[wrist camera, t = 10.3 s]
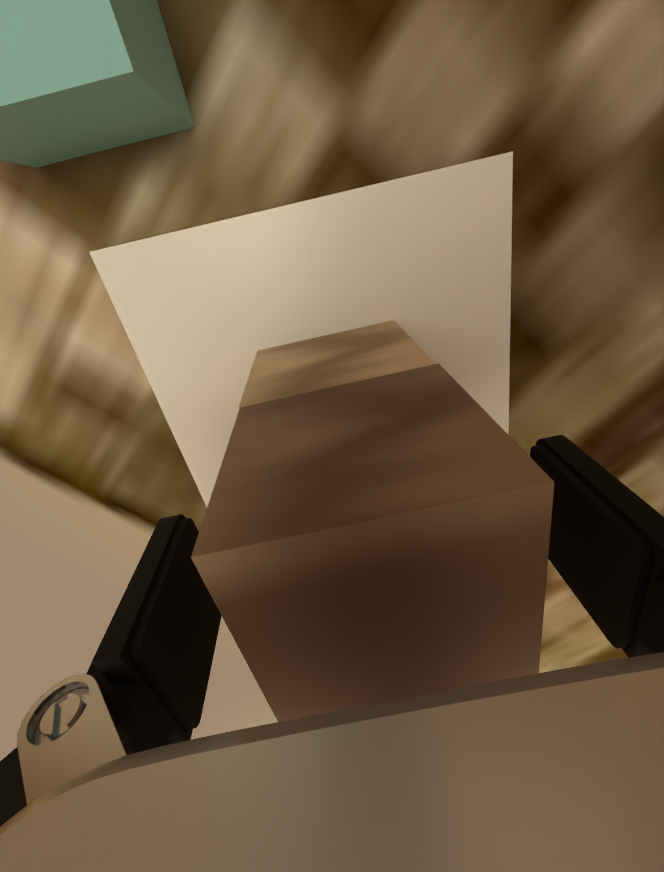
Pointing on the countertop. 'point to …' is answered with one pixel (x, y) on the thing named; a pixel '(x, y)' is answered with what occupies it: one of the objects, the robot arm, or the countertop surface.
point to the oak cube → (331, 362)
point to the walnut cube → (377, 544)
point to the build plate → (320, 292)
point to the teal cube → (84, 78)
